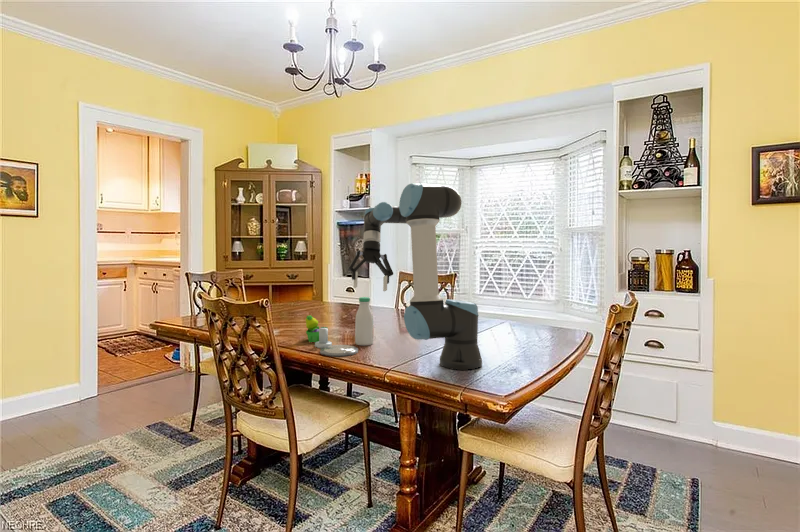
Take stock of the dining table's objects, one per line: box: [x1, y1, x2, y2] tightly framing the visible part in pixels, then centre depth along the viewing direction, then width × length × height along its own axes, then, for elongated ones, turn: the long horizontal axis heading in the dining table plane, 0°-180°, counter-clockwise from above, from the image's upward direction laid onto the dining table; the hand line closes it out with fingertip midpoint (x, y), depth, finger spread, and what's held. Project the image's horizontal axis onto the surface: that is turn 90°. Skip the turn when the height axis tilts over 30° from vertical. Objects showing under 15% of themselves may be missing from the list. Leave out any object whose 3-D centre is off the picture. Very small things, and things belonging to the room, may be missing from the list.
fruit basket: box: [305, 315, 328, 342], centre depth 200 cm, size 11×9×11 cm
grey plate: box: [319, 344, 359, 358], centre depth 180 cm, size 15×15×2 cm
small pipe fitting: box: [314, 328, 333, 349], centre depth 189 cm, size 7×7×8 cm
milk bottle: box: [354, 296, 374, 346], centre depth 194 cm, size 8×8×20 cm
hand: (370, 289), depth 195 cm, fingers open, 13 cm apart
